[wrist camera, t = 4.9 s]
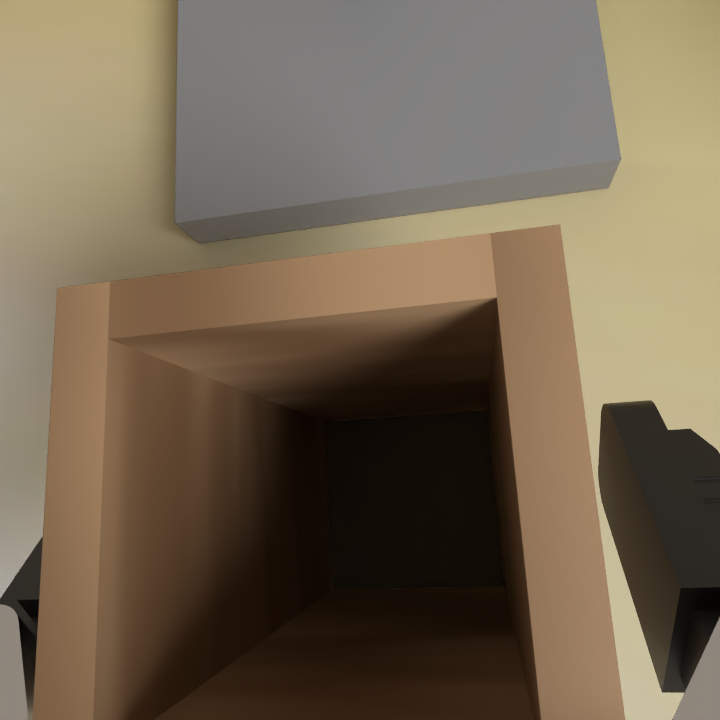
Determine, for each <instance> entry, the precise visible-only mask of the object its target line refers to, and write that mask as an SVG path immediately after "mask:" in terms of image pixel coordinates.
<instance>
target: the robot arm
mask: <svg viewBox="0 0 720 720" xmlns="http://www.w3.org/2000/svg"><path fill="white" fill-rule="evenodd" d="M598 477H599V487H600V494H601V499H602V503H603V507H604V510H605V513H606V517H607V520H608V523H609V526H610V529H611V532H612V536H613V539H614V542H615V545H616V548H617V551H618V555H619V558H620V561H621V564H622V567H623V570H624V574H625V577H626V580H627V583H628V586H629V589H630V593H631V596H632V599H633V602H634V605H635V608H636V612H637V615H638V618H639V621H640V624H641V627H642V631H643V634H644V637H645V640H646V643H647V646H648V650H649V653H650V656H651V659H652V662H653V665H654V669H655V672H656V675H657V678H658V681H659V684H660V688H661V691H662V692H683V693H684V695H683V698H682V700H681V702H680V704H679V706H678V708H677V711H676V713H675V715H674V717H673V719H672V720H720V454H719V452H718V450H717V449H716V448H714V447H713V446H712V445H710V444H709V443H708V442H707V441H705V440H704V439H703V438H701V437H700V436H699V435H698V434H696V433H695V432H694V431H693V430H691V429H680V430H668V429H667V427H666V425H665V423H664V421H663V419H662V417H661V415H660V414H659V412H658V410H657V408H656V406H655V404H654V403H653V402H652V401H650V400H649V401H635V402H622V403H609V404H604V405H603V406H602V411H601V426H600V446H599V465H598ZM42 545H43V537H42V538H41V540H40V541H39V543H38V544H37V545H36V547H35V548H34V550H33V551H32V553H31V554H30V556H29V557H28V559H27V560H26V562H25V563H24V565H23V566H22V568H21V569H20V570H19V572H18V573H17V575H16V576H15V578H14V579H13V581H12V582H11V584H10V585H9V587H8V588H7V590H6V591H5V593H4V594H3V595H2V597H1V598H0V720H32V717H33V700H34V683H35V666H36V648H37V631H38V614H39V596H40V579H41V562H42Z"/></svg>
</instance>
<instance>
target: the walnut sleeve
mask: <svg viewBox="0 0 720 720" xmlns="http://www.w3.org/2000/svg"><path fill="white" fill-rule="evenodd" d="M480 410H487V414H488V424H489V435H490V445H491V455H492V466H493V476H494V486H495V497H496V507H497V517H498V528H499V538H500V548H501V559H502V569H503V579H504V586H490V587H443V588H396V589H349V590H332V576H331V550H330V525H329V500H328V474H327V449H326V424H325V422H331V421H345V420H358V419H372V418H385V417H399V416H412V415H426V414H439V413H453V412H466V411H480ZM32 720H625V716H624V708H623V700H622V693H621V685H620V678H619V670H618V662H617V655H616V647H615V640H614V632H613V624H612V617H611V609H610V602H609V594H608V586H607V579H606V571H605V564H604V556H603V548H602V541H601V533H600V525H599V518H598V510H597V503H596V495H595V487H594V480H593V472H592V465H591V457H590V449H589V442H588V434H587V427H586V419H585V411H584V404H583V396H582V388H581V381H580V373H579V366H578V358H577V350H576V343H575V335H574V328H573V320H572V312H571V305H570V297H569V290H568V282H567V274H566V267H565V259H564V252H563V244H562V236H561V229H560V225H552V226H544V227H536V228H528V229H521V230H513V231H505V232H497V233H489V234H481V235H473V236H465V237H457V238H449V239H442V240H434V241H426V242H418V243H410V244H402V245H394V246H386V247H378V248H370V249H363V250H355V251H347V252H339V253H331V254H323V255H315V256H307V257H299V258H291V259H284V260H276V261H268V262H260V263H252V264H244V265H236V266H228V267H220V268H212V269H205V270H197V271H189V272H181V273H173V274H165V275H157V276H149V277H141V278H133V279H126V280H118V281H110V282H102V283H94V284H86V285H78V286H70V287H62V288H57V303H56V320H55V337H54V354H53V372H52V389H51V406H50V424H49V441H48V458H47V475H46V493H45V510H44V527H43V545H42V562H41V579H40V596H39V614H38V631H37V648H36V666H35V683H34V700H33V717H32Z"/></svg>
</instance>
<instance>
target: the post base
mask: <svg viewBox="0 0 720 720" xmlns="http://www.w3.org/2000/svg"><path fill="white" fill-rule="evenodd" d="M620 160H621V156H620V150H619V143H618V137H617V131H616V124H615V118H614V112H613V106H612V99H611V93H610V87H609V80H608V74H607V68H606V61H605V55H604V49H603V42H602V36H601V30H600V24H599V17H598V11H597V5H596V0H178V40H177V108H176V176H175V224H176V225H178V226H179V227H180V228H181V229H182V230H184V231H185V232H186V233H187V234H188V235H190V236H191V237H192V238H193V239H194V240H195V241H197V242H198V243H205V242H212V241H220V240H227V239H235V238H242V237H249V236H257V235H264V234H271V233H279V232H286V231H294V230H301V229H308V228H316V227H323V226H331V225H338V224H345V223H353V222H360V221H367V220H375V219H382V218H390V217H397V216H404V215H412V214H419V213H427V212H434V211H441V210H449V209H456V208H464V207H471V206H478V205H486V204H493V203H500V202H508V201H515V200H523V199H530V198H537V197H545V196H552V195H560V194H567V193H574V192H582V191H589V190H596V189H604V188H609V186H610V183H611V181H612V179H613V176H614V174H615V172H616V170H617V167H618V165H619V163H620Z"/></svg>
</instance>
